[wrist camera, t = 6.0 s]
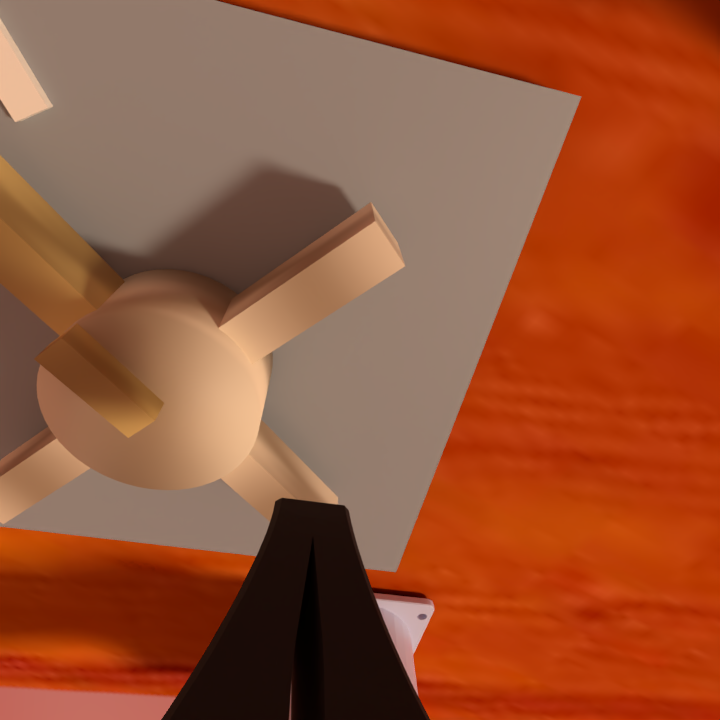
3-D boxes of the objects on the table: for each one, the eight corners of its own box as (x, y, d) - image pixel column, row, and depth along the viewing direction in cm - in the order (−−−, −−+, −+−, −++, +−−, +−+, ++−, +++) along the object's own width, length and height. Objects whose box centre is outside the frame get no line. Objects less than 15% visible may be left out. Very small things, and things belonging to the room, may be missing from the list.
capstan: (403, 204, 15) (423, 247, 11) (334, 505, 21) (332, 594, 17) (-58, 116, 13) (-201, 134, 10) (13, 469, 19) (-60, 559, 16)
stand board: (393, 550, 24) (396, 577, 23) (-57, 495, 22) (-82, 523, 20) (563, 94, 15) (586, 97, 13) (-217, -111, 12) (-286, -133, 11)
